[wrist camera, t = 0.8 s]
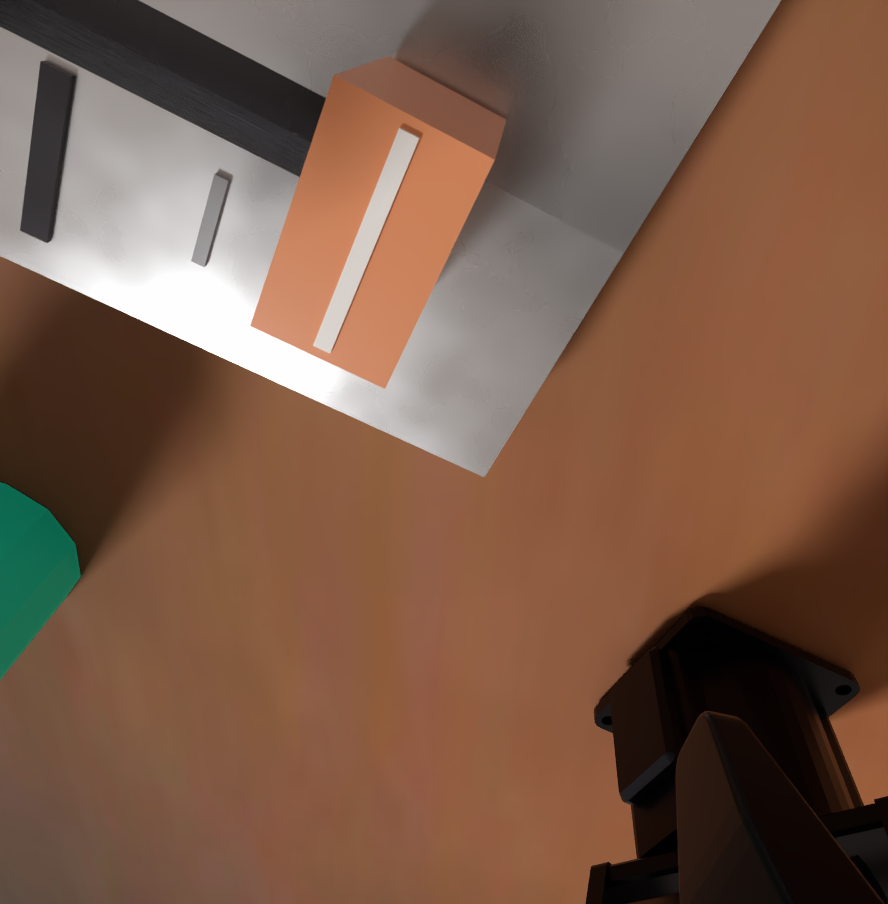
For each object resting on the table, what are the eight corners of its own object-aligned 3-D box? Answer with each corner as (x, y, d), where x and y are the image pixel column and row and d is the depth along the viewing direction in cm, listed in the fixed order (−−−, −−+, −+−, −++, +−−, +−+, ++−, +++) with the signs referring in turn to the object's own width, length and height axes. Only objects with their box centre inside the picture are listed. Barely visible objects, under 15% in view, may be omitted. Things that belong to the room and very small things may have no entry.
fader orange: (511, 102, 15) (494, 160, 10) (435, 264, 18) (384, 391, 12) (411, 48, 15) (332, 75, 9) (345, 219, 17) (248, 327, 12)
